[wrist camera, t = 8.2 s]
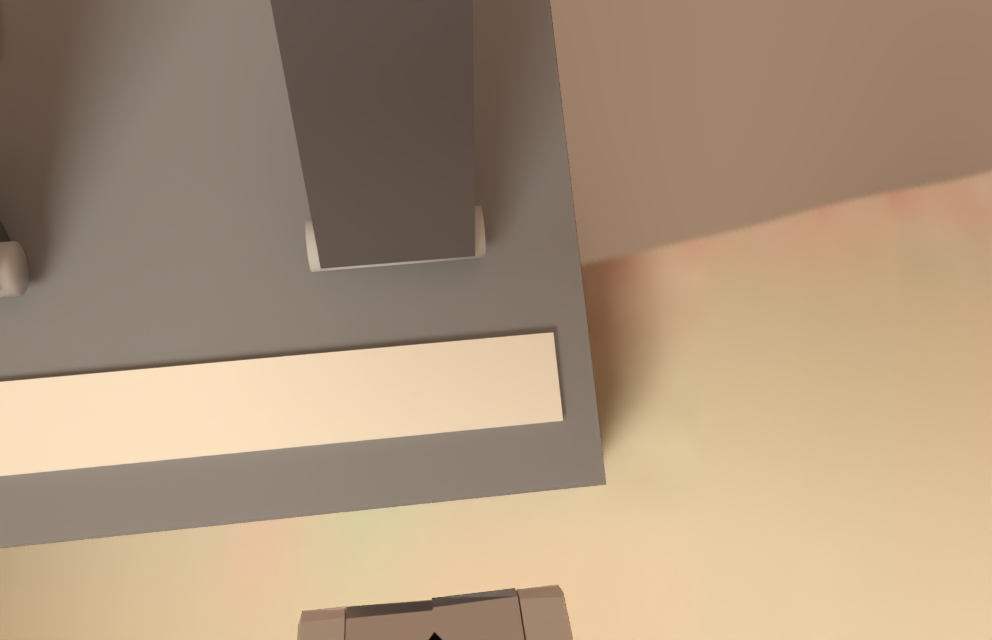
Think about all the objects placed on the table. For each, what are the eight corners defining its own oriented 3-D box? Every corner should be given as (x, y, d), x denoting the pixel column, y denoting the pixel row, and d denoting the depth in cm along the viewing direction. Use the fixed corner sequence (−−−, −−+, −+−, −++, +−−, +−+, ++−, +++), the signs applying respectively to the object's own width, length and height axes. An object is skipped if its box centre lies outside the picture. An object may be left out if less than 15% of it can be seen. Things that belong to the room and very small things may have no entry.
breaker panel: (529, -11, 30) (542, -70, 27) (585, 482, 28) (607, 484, 25) (-181, 28, 28) (-262, -30, 25) (-186, 563, 26) (-276, 577, 23)
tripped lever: (478, 228, 26) (477, -127, 19) (486, 274, 25) (488, -85, 17) (312, 241, 25) (244, -117, 18) (312, 288, 24) (239, -74, 17)
